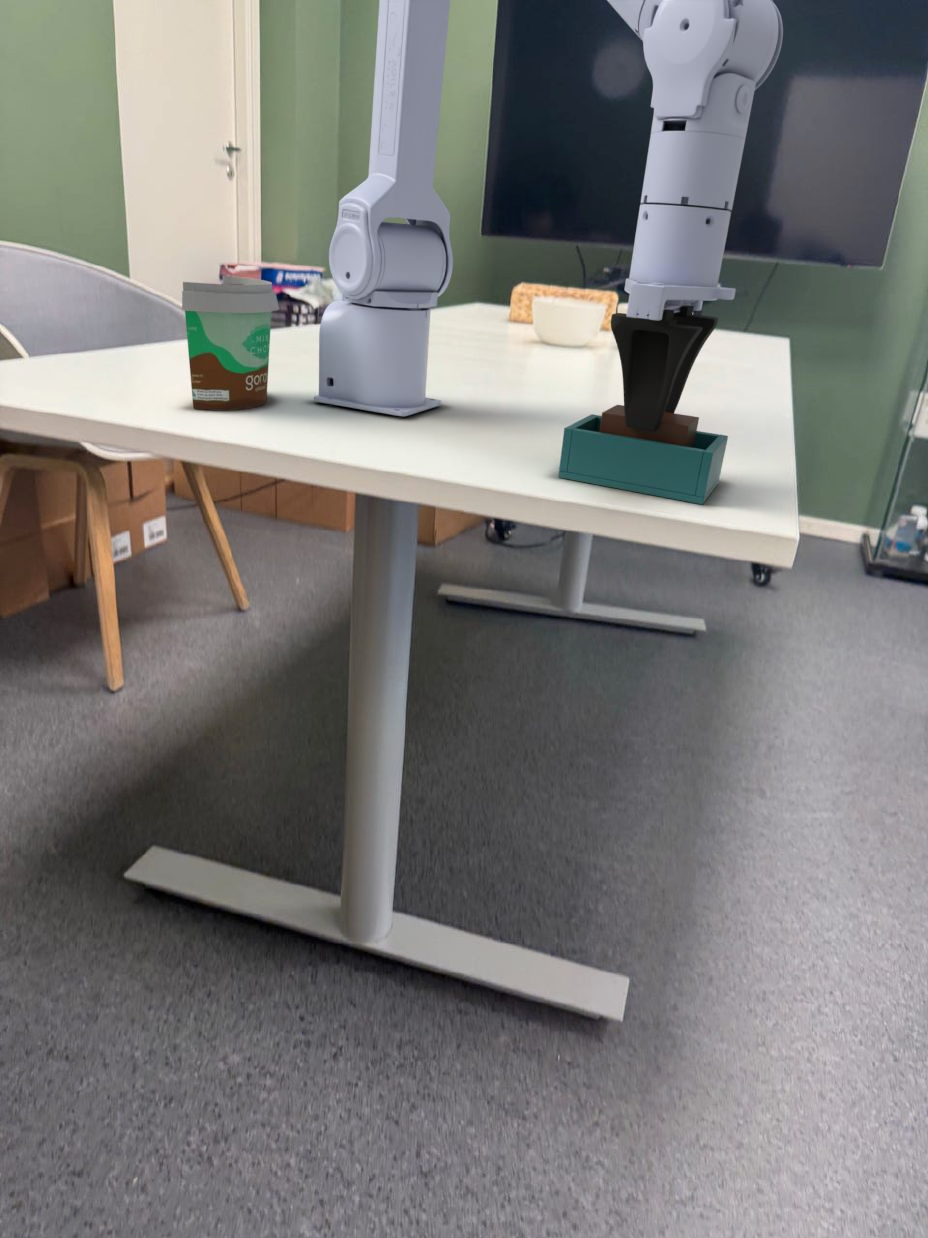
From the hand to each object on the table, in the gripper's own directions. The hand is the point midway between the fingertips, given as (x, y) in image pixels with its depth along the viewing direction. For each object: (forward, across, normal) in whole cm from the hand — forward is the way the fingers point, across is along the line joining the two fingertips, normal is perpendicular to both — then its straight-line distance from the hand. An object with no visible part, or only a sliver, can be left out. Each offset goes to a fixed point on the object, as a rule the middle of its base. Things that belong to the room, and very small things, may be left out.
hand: (648, 423), depth 59 cm
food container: (+4, +2, +36) cm, 37 cm away
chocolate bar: (+1, 0, 0) cm, 1 cm away
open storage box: (+4, 0, 0) cm, 4 cm away
